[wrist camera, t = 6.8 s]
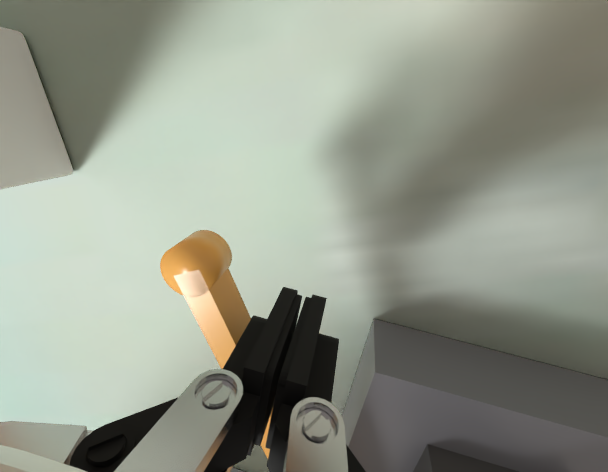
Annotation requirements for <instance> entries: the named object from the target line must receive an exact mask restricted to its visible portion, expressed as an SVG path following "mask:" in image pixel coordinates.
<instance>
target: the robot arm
mask: <svg viewBox="0 0 608 472" xmlns="http://www.w3.org/2000/svg"><path fill="white" fill-rule="evenodd" d="M301 299H302V296H301V295H297V290H293V289H290V288H286V287H283V288H282V290H281V293H280V295H279V297H278V299H277V301H276V303H275V305H274V307H273V309H272V311H271V313H270V315H269V317H268V319H264V318H261V317H257V316H253V317H252V318H251V320H250V322H249V323H248V325H247V327H246V329H245V330H244V332H243V334H242V336H241V337H240V339H239V341H238V343H237V344H236V346H235V348H234V350H233V352H232V353H231V355H230V357H229V359H228V360H227V362H226V364H225V366H224V367H223V369H214V370H209V371H206V372H204V373H202V374H200V375H199V376H198V377H197V378H196V379H195V380H194V381H193V382H192V383H191V384H190V385H189V386H188V387H187V389H186V390H185V391H184V392H183V393H182V394H181V395H180V397H178V398H176V399H173V400H170V401H168V402H165V403H162V404H160V405H157V406H154V407H152V408H149V409H146V410H144V411H141V412H138V413H136V414H133V415H130V416H128V417H125V418H122V419H120V420H117V421H114V422H112V423H109V424H106V425H104V426H102V427H100V428H98V429H96V430H94V431H90V430H87V427H86V426H78V425H62V424H46V423H31V422H15V421H9V422H0V472H231V470H232V467H233V465H235V464H236V463H238V462H240V461H242V460H244V459H246V456H247V455H249V456H250V454H251V452H252V449H253V446H254V444H256V445H259V446H260V445H261V442H262V439H263V436H264V433H265V430H266V427H267V424H268V421H269V418H270V415H271V412H272V415H271V420H270V426H269V431H268V436H267V441H266V446H265V448H268V449H270V452H269V457H268V462H267V467H268V469H269V471H270V472H366V471H365V470H364V468H363V467H362V466H361V464H360V463H359V461H358V460H357V459H356V457H355V456H354V454H353V453H352V451H351V450H350V449H349V447H348V446H347V444H346V437H345V425H344V421H343V417H342V416H341V414H340V412H339V410H338V409H337V408H336V407H335V406H334V405H333V404H332V403H331V399H332V391H333V383H334V375H335V367H336V360H337V352H338V344H339V339H337V338H333V337H330V336H326V335H322V334H319V330H320V325H321V321H322V316H323V312H324V308H325V303H326V299H327V298H324V297H320V296H316V295H312V298H309V297H306V298H305V301H304V304H303V307H302V310H301V313H300V316H299V319H298V322H297V318H298V313H299V308H300V304H301ZM296 323H297V325H296ZM272 408H273V410H272Z"/></svg>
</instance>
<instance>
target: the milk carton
mask: <svg viewBox="0 0 608 472" xmlns="http://www.w3.org/2000/svg"><path fill="white" fill-rule="evenodd" d="M71 174H73V168H72V165H71V162H70V159H69V157H68V154H67V151H66V148H65V146H64V143H63V140H62V138H61V135H60V132H59V129H58V127H57V124H56V121H55V118H54V116H53V113H52V110H51V108H50V105H49V102H48V99H47V97H46V94H45V91H44V88H43V86H42V83H41V80H40V78H39V75H38V72H37V69H36V67H35V64H34V61H33V58H32V56H31V53H30V50H29V48H28V45H27V42H26V40H25V38H24V35H23V34H22V33H21V32H19V31H16V30H12V29H8V28H4V27H0V189H4V188H9V187H14V186H19V185H24V184H29V183H34V182H38V181H43V180H48V179H53V178H58V177H63V176H68V175H71Z"/></svg>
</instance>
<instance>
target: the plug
mask: <svg viewBox="0 0 608 472" xmlns="http://www.w3.org/2000/svg"><path fill="white" fill-rule="evenodd" d="M413 472H519V471H515V470H512V469H509V468H505V467H502V466H499V465H495V464H492V463H489V462H485V461H482V460H479V459H475V458H472V457H469V456H465V455H462V454H459V453H456V452H452V451H449V450H446V449H442V448H439V447H436V446H432V445H429V444H427V446H426V448H425V450H424V451H423V453H422V455H421V457H420V459H419V461H418V463H417V465H416V467H415V469H414V471H413Z"/></svg>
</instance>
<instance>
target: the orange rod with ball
mask: <svg viewBox="0 0 608 472" xmlns="http://www.w3.org/2000/svg"><path fill="white" fill-rule="evenodd" d="M231 260H232V254H231V250H230V247H229V246H228V244H227V242H226V241H225V240H224V239H223V238H222V237H221V236H220V235H218V234H216V233H214V232H212V231H208V230H200V231H196V232H194V233H193V234H191V235H190V236H188V237H187V238H185V239H184V240H182V241H181V242H179V243H178V244H176V245H175V246H174V247H172V248H171V249H169V250H168V251H167V252H165V254H164V255H163V257H162V259H161V263H160V268H161V273H162V276H163V278H164V280H165V281H166V283H167V284H168V285H169V286H170V287H171V288H172V289H173V290H174V291H176V292H178V293H179V294H181V295H184V297H185V299H186V301H187V303H188V305H189V307H190V309H191V311H192V313H193V315H194V317H195V319H196V320H197V322H198V324H199V326H200V328H201V330H202V332H203V334H204V336H205V338H206V340H207V342H208V344H209V346H210V348H211V350H212V352H213V353H214V355H215V357H216V359H217V361H218V363H219V365H220V367H221V369H223V367H224V366H225V364H226V362H227V360H228V359H229V357H230V355H231V353H232V352H233V350H234V348H235V346H236V344H237V343H238V341H239V339H240V337H241V336H242V334H243V332H244V330H245V329H246V327H247V325H248V323H249V322H250V320H251V318H250V316H249V313H248V311H247V309H246V307H245V304H244V302H243V300H242V298H241V296H240V293H239V291H238V289H237V287H236V284H235V282H234V280H233V278H232V276H231V273H230V271H229V269H228V268H229V266H230V264H231ZM272 410H273V408H272ZM271 415H272V412H271ZM271 415H270V418H269V421H268V424H267V427H266V430H265V433H264V436H263V439H262V442H261V447H262V449H263V451H264V453H265V454H266V456H267V458H268V457H269V452H270V449H268V448H265V446H266V441H267V436H268V431H269V426H270V420H271Z"/></svg>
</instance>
